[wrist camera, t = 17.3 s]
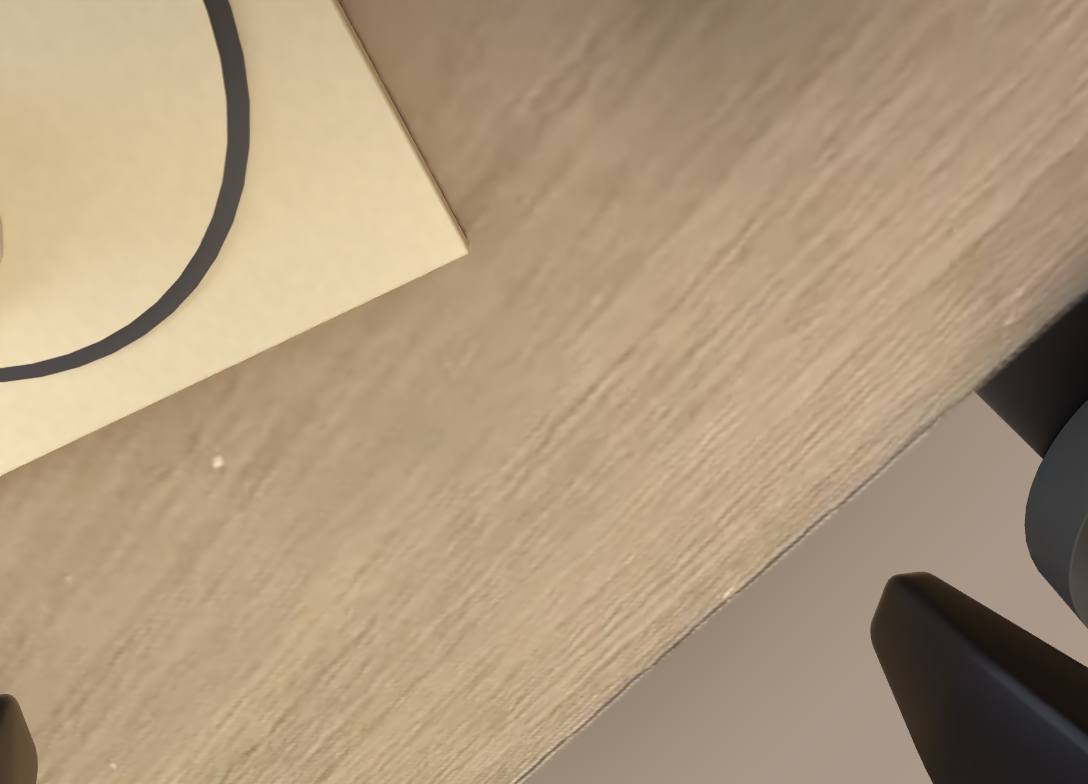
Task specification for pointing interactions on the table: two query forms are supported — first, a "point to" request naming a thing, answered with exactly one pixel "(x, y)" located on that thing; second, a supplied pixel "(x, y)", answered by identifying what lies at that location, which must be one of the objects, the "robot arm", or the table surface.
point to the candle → (0, 242)
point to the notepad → (188, 199)
